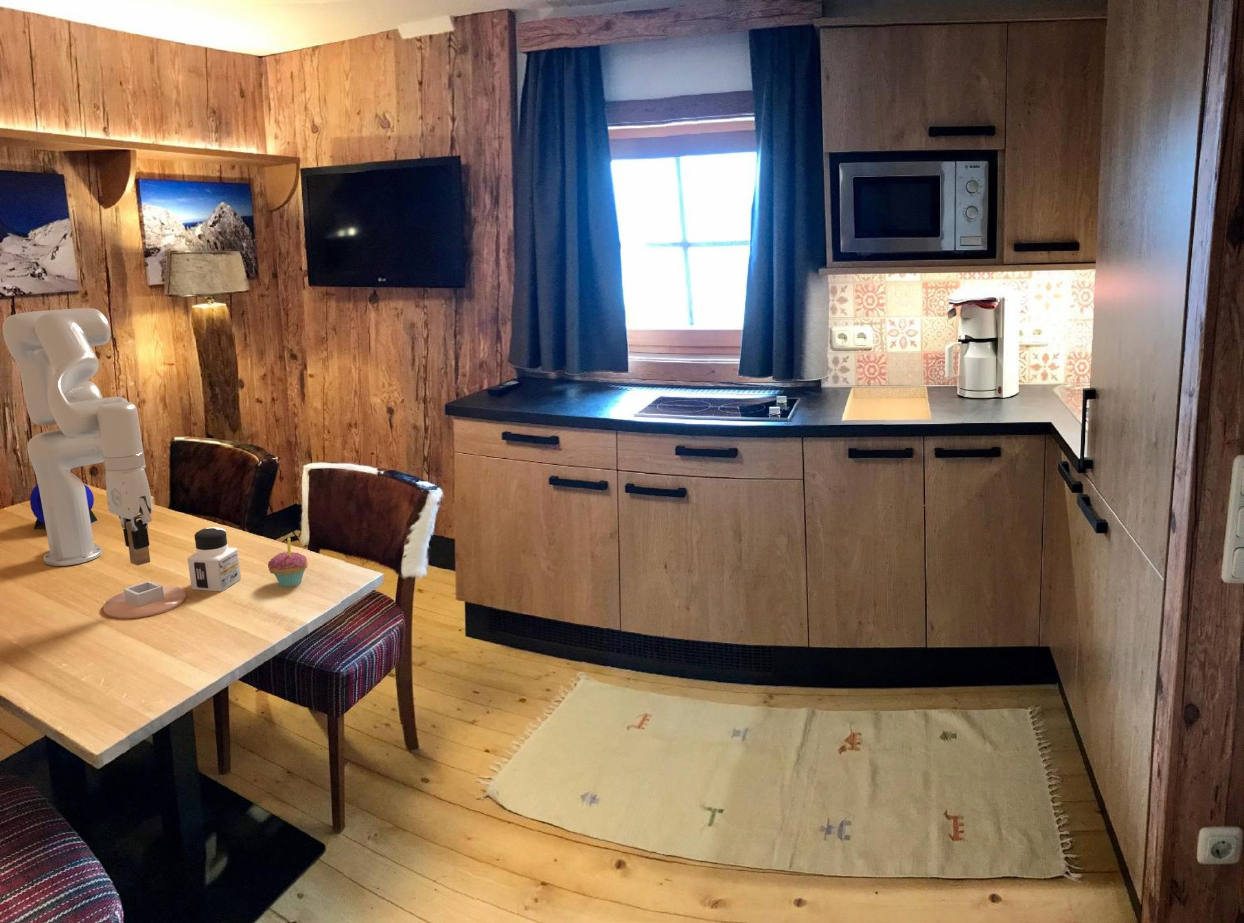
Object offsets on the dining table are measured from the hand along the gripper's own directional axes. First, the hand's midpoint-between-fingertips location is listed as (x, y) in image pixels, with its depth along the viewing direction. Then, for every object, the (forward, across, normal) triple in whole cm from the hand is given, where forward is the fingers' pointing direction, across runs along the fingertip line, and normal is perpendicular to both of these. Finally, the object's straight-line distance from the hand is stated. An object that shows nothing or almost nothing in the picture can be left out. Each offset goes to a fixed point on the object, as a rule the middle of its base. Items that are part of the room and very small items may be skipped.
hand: (137, 545), depth 209 cm
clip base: (+13, -1, 0) cm, 13 cm away
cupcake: (+14, +15, +25) cm, 32 cm away
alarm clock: (+12, -71, +17) cm, 74 cm away
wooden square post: (+4, 0, 0) cm, 4 cm away
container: (+14, +2, +15) cm, 20 cm away
